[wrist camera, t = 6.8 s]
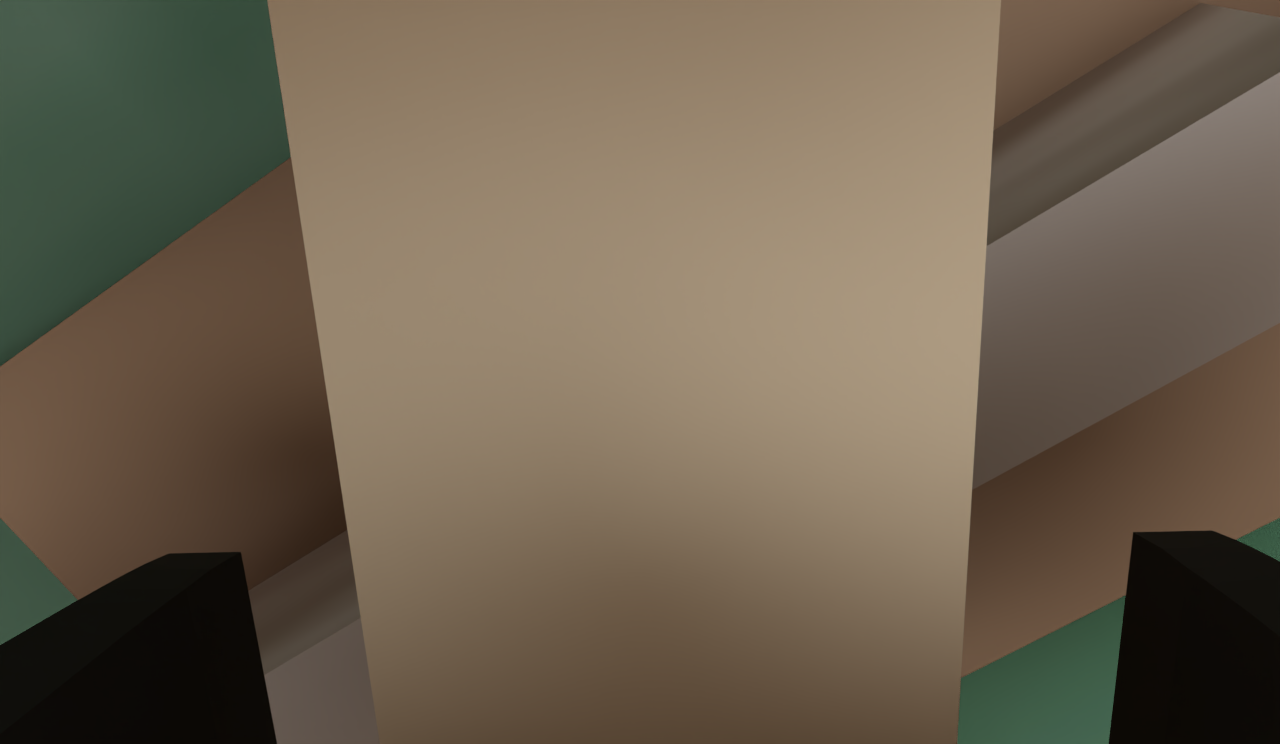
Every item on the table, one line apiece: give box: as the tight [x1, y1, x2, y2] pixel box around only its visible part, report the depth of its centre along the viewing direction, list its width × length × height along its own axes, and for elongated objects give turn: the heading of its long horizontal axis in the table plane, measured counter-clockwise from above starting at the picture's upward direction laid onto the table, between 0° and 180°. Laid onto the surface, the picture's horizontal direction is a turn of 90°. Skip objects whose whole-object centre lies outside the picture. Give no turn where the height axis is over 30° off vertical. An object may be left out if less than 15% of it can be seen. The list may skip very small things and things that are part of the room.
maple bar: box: [267, 0, 1001, 744], centre depth 9 cm, size 20×3×5 cm, turn 3°
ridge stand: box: [0, 0, 1280, 744], centre depth 13 cm, size 10×16×4 cm, turn 124°
